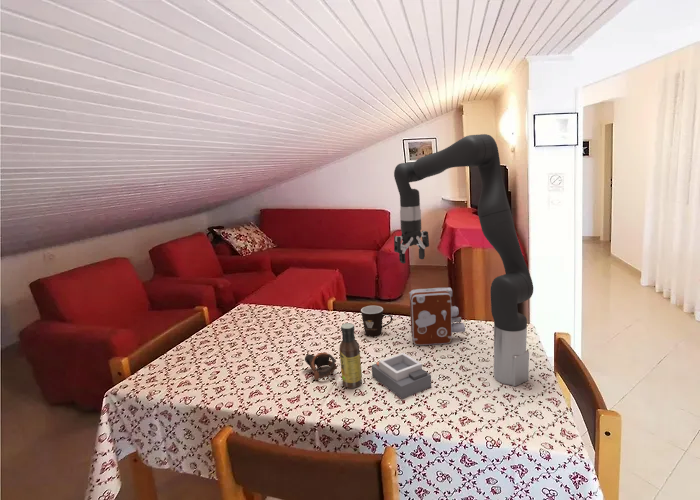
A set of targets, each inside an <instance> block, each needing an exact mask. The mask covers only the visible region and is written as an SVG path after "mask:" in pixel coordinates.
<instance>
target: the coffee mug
mask: <svg viewBox="0 0 700 500" xmlns="http://www.w3.org/2000/svg"><path fill="white" fill-rule="evenodd" d="M360 314H361V318H362V323H363V328H364V334H365V336H366V337H369V338H376V337H379V336H381V335H382V331H383V328H385V327H387V326H388V325H390V324H391V323H392V321H393V317H392V315H391V314H389V313H384V308H383V307H382V306H380V305H367V306H364V307H362V308H361V309H360ZM386 316H388V317H389V318H390V321H389V322H387V323H386V324H384V325H383V320H384V317H386Z"/></svg>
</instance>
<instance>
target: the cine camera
mask: <svg viewBox="0 0 700 500" xmlns="http://www.w3.org/2000/svg"><path fill="white" fill-rule="evenodd" d="M408 294H409V313H410V314H409V315H410V318H409V319H410V331H411V337H412V341H413V344H415V345H416V346H430V345H431V346H432V345H446V344H450V343H451V342H452V337H453V336H452V335H453V334H458V333H464V332H465V331H466V326H465V323H464V322H462V317H461V316H459V307H458V306H456V305H454V306H453V305H452V297H453V289H452V288H451V287H433V288H431V287H430V288H429V287H428V288H417V289H416V288H415V289H412V290H410V291H409V293H408ZM457 316H458V317H457Z"/></svg>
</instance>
